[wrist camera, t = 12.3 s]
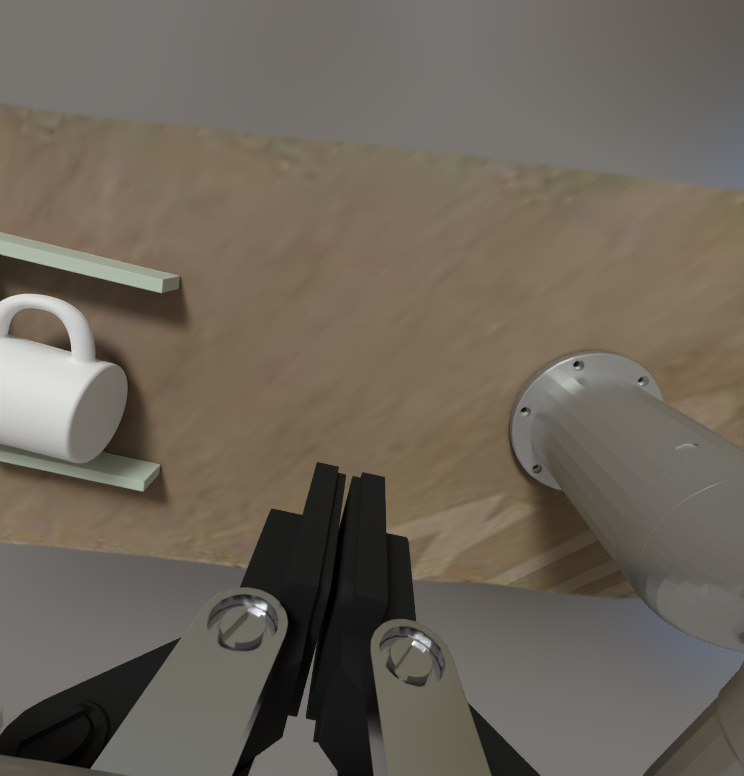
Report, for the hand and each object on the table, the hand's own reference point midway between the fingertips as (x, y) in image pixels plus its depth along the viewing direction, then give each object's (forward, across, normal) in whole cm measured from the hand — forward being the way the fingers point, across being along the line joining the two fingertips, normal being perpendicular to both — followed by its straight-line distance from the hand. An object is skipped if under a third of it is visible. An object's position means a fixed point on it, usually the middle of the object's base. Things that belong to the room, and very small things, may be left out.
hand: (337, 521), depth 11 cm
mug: (+27, +23, +9) cm, 37 cm away
